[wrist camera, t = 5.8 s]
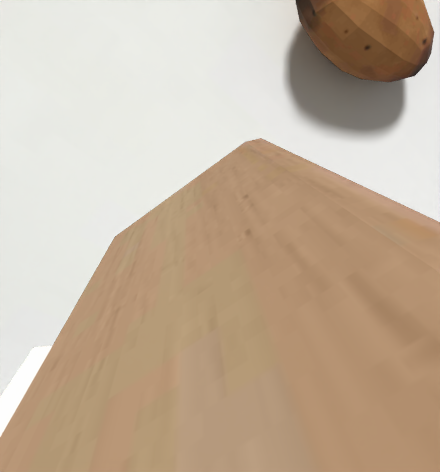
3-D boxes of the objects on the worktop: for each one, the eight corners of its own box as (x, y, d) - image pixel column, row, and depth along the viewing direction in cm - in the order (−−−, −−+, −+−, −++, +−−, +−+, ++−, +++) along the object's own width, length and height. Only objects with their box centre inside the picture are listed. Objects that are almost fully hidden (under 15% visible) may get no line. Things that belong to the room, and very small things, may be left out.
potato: (381, 48, 38) (373, 115, 36) (275, -33, 32) (259, 40, 30) (457, -4, 32) (454, 73, 29) (341, -118, 26) (326, -32, 24)
